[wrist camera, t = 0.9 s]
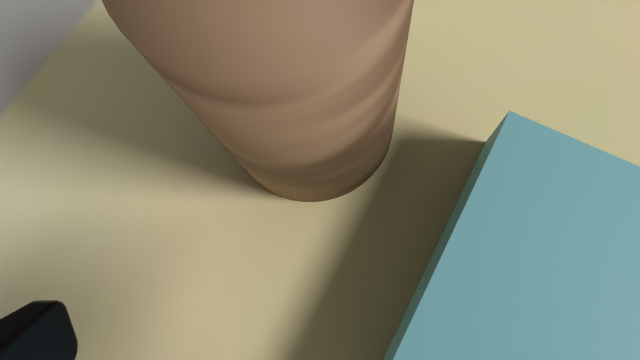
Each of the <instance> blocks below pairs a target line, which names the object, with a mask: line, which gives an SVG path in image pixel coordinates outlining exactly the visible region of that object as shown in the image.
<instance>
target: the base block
mask: <svg viewBox="0 0 640 360" xmlns="http://www.w3.org/2000/svg"><path fill="white" fill-rule="evenodd" d="M383 360H640V167H639V166H637V165H635V164H632V163H630V162H628V161H625V160H623V159H621V158H618V157H616V156H614V155H611V154H609V153H607V152H604V151H602V150H600V149H597V148H595V147H593V146H590V145H588V144H586V143H583V142H581V141H579V140H576V139H574V138H572V137H569V136H567V135H565V134H562V133H560V132H558V131H555V130H553V129H551V128H548V127H546V126H544V125H541V124H539V123H537V122H534V121H532V120H530V119H527V118H525V117H523V116H520V115H518V114H516V113H513V112H511V111H509V112H508V113H507V115H506V116H505V117H504V119H503V120H502V121H501V123H500V124H499V125H498V127H497V128H496V129H495V130H494V132H493V133H492V134H491V136H490V137H489V138H488V140H487V141H486V142H485V144H484V146H483V149H482V151H481V153H480V155H479V157H478V159H477V161H476V163H475V166H474V168H473V170H472V172H471V174H470V176H469V178H468V180H467V183H466V185H465V187H464V189H463V191H462V193H461V195H460V197H459V199H458V202H457V204H456V206H455V208H454V210H453V212H452V214H451V216H450V219H449V221H448V223H447V225H446V227H445V229H444V231H443V233H442V236H441V238H440V240H439V242H438V244H437V246H436V248H435V250H434V252H433V255H432V257H431V259H430V261H429V263H428V265H427V267H426V269H425V272H424V274H423V276H422V278H421V280H420V282H419V284H418V286H417V288H416V291H415V293H414V295H413V297H412V299H411V301H410V303H409V305H408V308H407V310H406V312H405V314H404V316H403V318H402V320H401V322H400V325H399V327H398V329H397V331H396V333H395V335H394V337H393V339H392V341H391V344H390V346H389V348H388V350H387V352H386V354H385V356H384V358H383Z"/></svg>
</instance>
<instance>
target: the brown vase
mask: <svg viewBox="0 0 640 360" xmlns="http://www.w3.org/2000/svg"><path fill="white" fill-rule="evenodd" d="M102 1H103V4H104V6H105V8H106V10H107V12H108V14H109V15H110V17H111V18H112V20H113V21H114V22H115V24H116V25H117V27H118V28H119V30H120V31H121V32H122V33H123V34H124V35H125V36H126V37H127V39H128V40H129V41H130V42H131V43H132V44H133V45H134V46H135V47H136V49H137V50H138V51H139V52H140V53H141V54H142V55H143V56H144V57H145V59H146V60H147V61H148V62H149V63H150V64H151V65H152V66H153V67H154V69H155V70H156V71H157V72H158V73H159V74H160V75H161V76H162V77H163V79H164V80H165V81H166V82H167V83H168V84H169V85H170V86H171V87H172V89H173V90H174V91H175V92H176V93H177V94H178V95H179V96H180V97H181V99H182V100H183V101H184V102H185V103H186V104H187V105H188V106H189V107H190V109H191V110H192V111H193V112H194V113H195V114H196V115H197V116H198V117H199V119H200V120H201V121H202V122H203V123H204V124H205V125H206V126H207V127H208V129H209V130H210V131H211V132H212V133H213V134H214V135H215V136H216V137H217V139H218V140H219V141H220V142H221V143H222V144H223V145H224V146H225V147H226V149H227V150H228V151H229V152H230V153H231V154H232V155H233V156H234V157H235V159H236V160H237V161H238V162H239V163H240V164H241V165H242V166H243V167H244V169H245V170H246V171H247V172H248V173H249V174H250V175H251V176H252V177H253V178H254V179H255V180H256V181H257V182H258V183H259V184H260V185H262V186H263V187H264V188H266V189H267V190H269V191H271V192H272V193H274V194H276V195H279V196H281V197H284V198H287V199H291V200H295V201H302V202H318V201H326V200H330V199H334V198H337V197H340V196H342V195H345V194H347V193H349V192H351V191H353V190H354V189H356V188H358V187H359V186H360V185H362V184H363V183H364V182H365V181H367V180H368V179H369V178H370V177H371V176H372V175H373V174H374V172H375V171H376V170H377V169H378V167H379V166H380V164H381V163H382V161H383V159H384V158H385V155H386V153H387V151H388V148H389V145H390V142H391V138H392V132H393V126H394V120H395V113H396V107H397V101H398V95H399V89H400V82H401V76H402V70H403V64H404V58H405V52H406V45H407V39H408V33H409V27H410V21H411V14H412V8H413V2H414V0H102Z"/></svg>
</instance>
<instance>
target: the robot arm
mask: <svg viewBox="0 0 640 360" xmlns="http://www.w3.org/2000/svg"><path fill="white" fill-rule="evenodd" d="M77 348H78V344H77V338H76V335H75V332H74V329H73V326H72V323H71V320H70V317H69V315H68V312H67V309H66V307H65V305H64V304H63V303H62V302H60V301H57V300H39V301H33V302H31V303H29V304H27V305H25V306H24V307H22V308H20V309H18V310H16V311H15V312H13V313H11V314H9V315H7V316H6V317H4V318H2V319H0V360H75V357H76V354H77Z"/></svg>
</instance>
